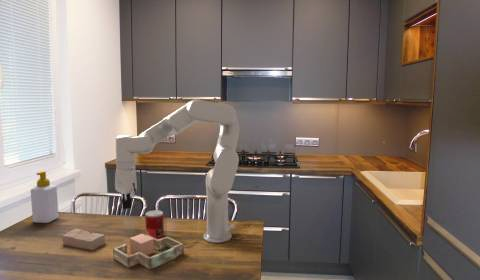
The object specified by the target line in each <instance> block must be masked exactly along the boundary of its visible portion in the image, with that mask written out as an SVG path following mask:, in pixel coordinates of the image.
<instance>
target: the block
mask: <svg viewBox="0 0 480 280" xmlns="http://www.w3.org/2000/svg"><path fill="white" fill-rule="evenodd" d="M129 251H130V253H132V254H135V253H138V252H141V253H143V254H145V255H147V256H149V255H151V254H154V253H155V249H154V239H153V238H151V237H149V236H146V234H144V233H141V234H137V235H135V236H132V237H129Z"/></svg>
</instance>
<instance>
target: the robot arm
mask: <svg viewBox="0 0 480 280" xmlns="http://www.w3.org/2000/svg"><path fill="white" fill-rule="evenodd" d="M197 122H202V123H207V124H208V123H209V124H215V125H219V134H218V138H217V142H216V146H215V148H214V152H213V156H212V157H213V161H214V162H215V163H214V168H213V167H212V168H211V169H210V170H208V172H207V173H206V176H205V191H206V231H205V232H204V233H203V236H202V238H203V239H204V240H205V241H206V242H208V243H214V244H216V243H217V244H218V243H219V244H220V243H221V244H222V243H225V242H228V241H230V240H231V239H232V233H231V232H230V231H231V230H234V229H235V228H236V225H235V224H230V225H229V192H231V189H232V188H233V184H234V181H235V178H236V174H237V171H238V167H239V163H240V162H239V161H240V160H239V154H238V153H237V151H236V149H237V145H238V141H239V137H240V136H239V135H240V123H239V119H238V117H237V111H236V110H235V108H234V106H232V105H230V104H227V103H219V102H213V101H207V100H202V99H199V98H194V99H192V100H190V101H189V102H187V103H186V104H184V105H183V106H180V107H179V108H178V109H177V110H175V111H173V112H172V113H171V114H169V115H167V116H166V117H164V118H163V119H162V120H160V121H158V123H156V124H154V125H152V126H151V127H150V128H147V129H146V130H145V131H143V132H141V133H140V134H139V135H138V136H133V135H130V134H123V135H118V136H117V137H116V138H115V161H116V163H115V165H116V169H115V173H114V174H115V175H114V190H115V191H116V192H118V193H119V194H120V195H121V196H120V197H121V201H122V203H121V205H122V209H123V210H129V209H131V208H132V199H133V197H134V198H135V197H136V196H135V195H136V194H135V193H136V192H137V189H138V185H137V184H138V183H137V182H138V181H137V173H136V172H137V171H136V154H140V155H147V154H150V153H152V151H153V150H154V147H155V146H156V145H158V144H159V143H160V142H162V141H163V140H165V139H167V138H169V137H173V136H177V135H179V134H180V133H181V132H183V131H184V130H186V129H187V128H189V127H190V126H191V125H194V124H195V123H197Z"/></svg>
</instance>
